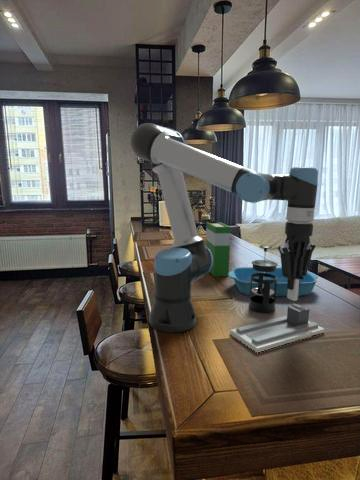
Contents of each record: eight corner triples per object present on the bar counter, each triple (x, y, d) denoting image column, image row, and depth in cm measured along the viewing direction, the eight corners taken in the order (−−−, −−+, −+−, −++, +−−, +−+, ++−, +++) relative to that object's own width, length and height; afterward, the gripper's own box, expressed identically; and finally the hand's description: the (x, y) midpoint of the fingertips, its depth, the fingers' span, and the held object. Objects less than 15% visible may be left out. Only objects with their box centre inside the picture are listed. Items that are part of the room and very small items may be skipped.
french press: (246, 302, 120) (249, 242, 116) (271, 302, 120) (275, 243, 116) (251, 314, 109) (255, 249, 105) (279, 315, 108) (284, 250, 104)
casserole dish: (231, 298, 125) (232, 281, 123) (224, 281, 147) (225, 266, 145) (326, 300, 124) (327, 282, 123) (304, 282, 146) (306, 267, 145)
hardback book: (205, 266, 170) (206, 222, 165) (218, 266, 171) (220, 222, 166) (213, 276, 153) (215, 227, 148) (228, 275, 154) (230, 226, 149)
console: (256, 353, 84) (257, 344, 84) (230, 334, 95) (230, 326, 94) (324, 333, 96) (324, 325, 96) (293, 318, 106) (294, 311, 106)
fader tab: (297, 327, 96) (299, 309, 95) (286, 321, 100) (288, 304, 99) (308, 324, 98) (309, 307, 97) (296, 319, 102) (298, 302, 101)
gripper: (292, 224, 85) (285, 306, 90) (325, 222, 91) (317, 299, 96) (273, 221, 92) (267, 298, 97) (305, 219, 98) (298, 292, 102)
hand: (292, 298), depth 96 cm, fingers closed
